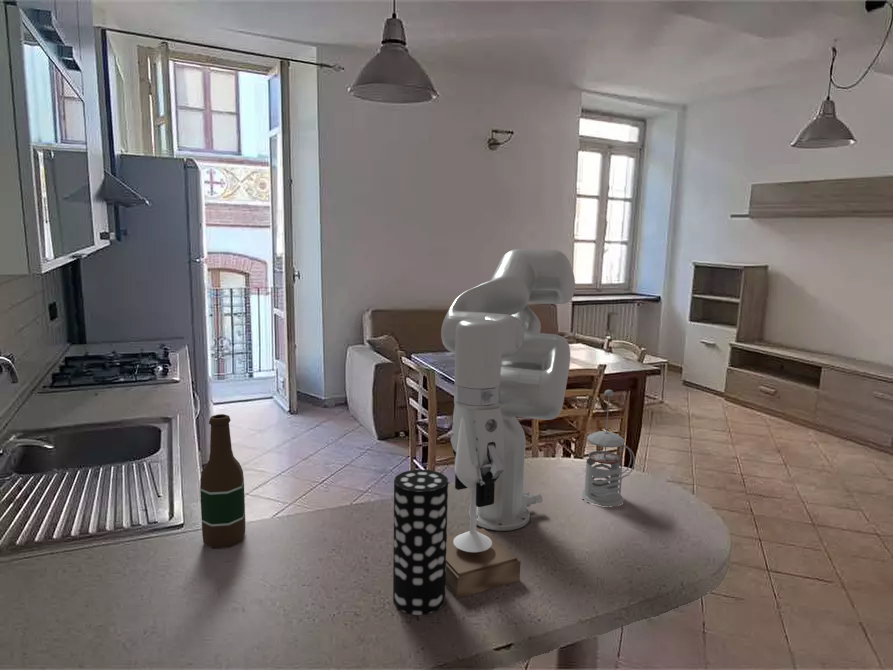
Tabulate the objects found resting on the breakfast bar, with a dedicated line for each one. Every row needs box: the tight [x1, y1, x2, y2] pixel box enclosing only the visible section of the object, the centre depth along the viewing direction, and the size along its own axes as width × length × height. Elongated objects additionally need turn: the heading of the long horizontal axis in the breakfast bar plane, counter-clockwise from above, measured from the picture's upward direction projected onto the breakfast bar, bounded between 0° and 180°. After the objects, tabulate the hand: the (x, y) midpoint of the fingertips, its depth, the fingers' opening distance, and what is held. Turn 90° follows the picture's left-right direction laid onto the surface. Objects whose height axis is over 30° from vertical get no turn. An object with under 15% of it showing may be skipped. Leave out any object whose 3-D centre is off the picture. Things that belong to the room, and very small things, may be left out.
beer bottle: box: [199, 413, 246, 550], centre depth 108 cm, size 8×8×24 cm
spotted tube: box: [392, 469, 449, 616], centre depth 92 cm, size 8×8×20 cm
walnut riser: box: [446, 527, 522, 599], centre depth 101 cm, size 12×12×4 cm
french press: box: [581, 389, 636, 507], centre depth 130 cm, size 10×12×25 cm
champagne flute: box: [453, 417, 492, 552], centre depth 99 cm, size 7×7×24 cm
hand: (473, 495), depth 100 cm, fingers closed on champagne flute, 6 cm apart
